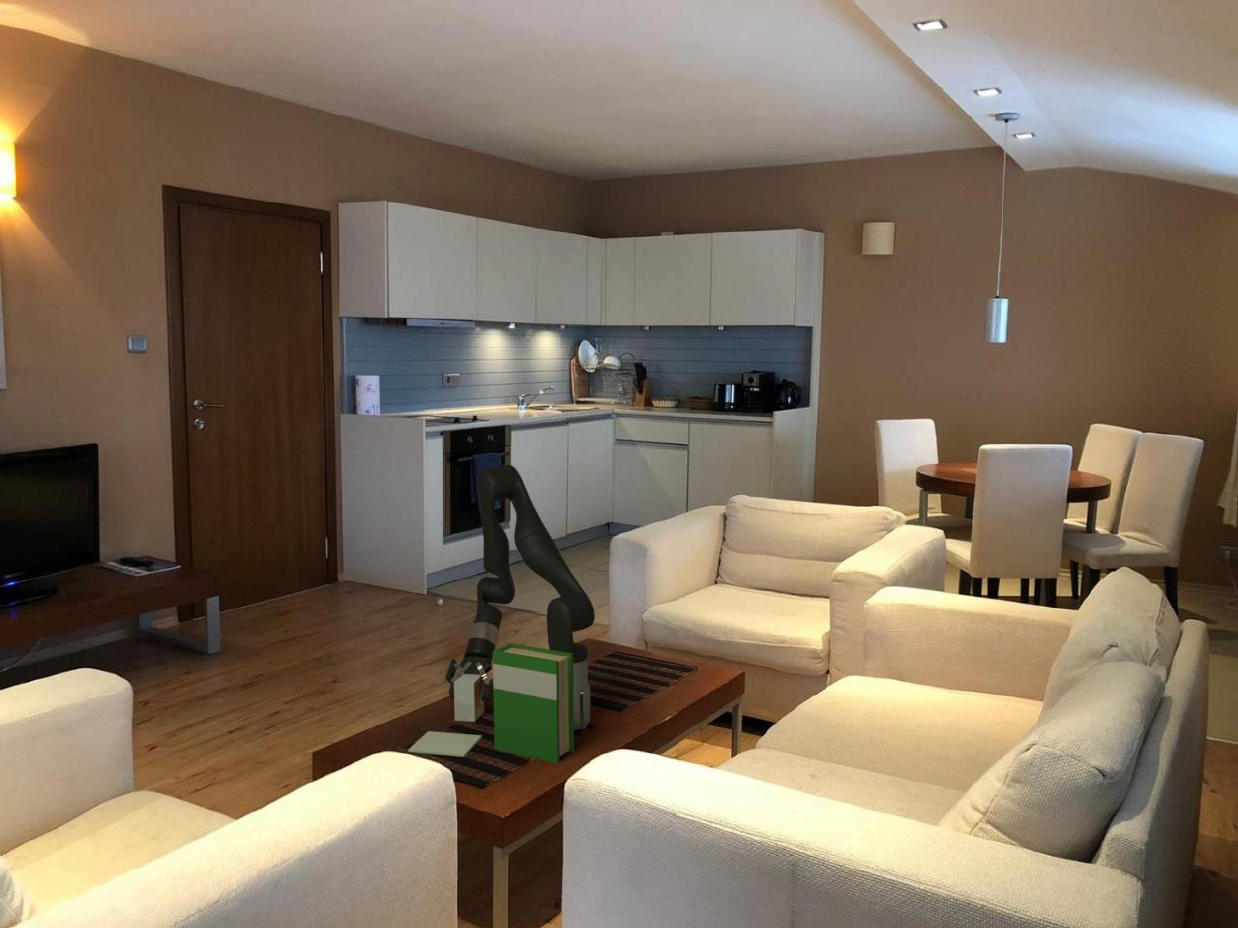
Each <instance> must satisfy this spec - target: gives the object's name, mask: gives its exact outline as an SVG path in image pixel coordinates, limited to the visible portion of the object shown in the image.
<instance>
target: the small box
mask: <svg viewBox="0 0 1238 928" xmlns="http://www.w3.org/2000/svg"><path fill="white" fill-rule="evenodd" d="M484 685H485V681H484V679H483V678H482V676H481V675H472V674H463V675H462V676H461V677H459V678H458V679H457V680H456V681H454V699H453V701H454V702H453V704H454V705H453V706H454V710H453V711H454V721H455V722H467V723H469V722H470V723H475V722H476V721H477V720H478V719H479V718H480V717H481V716H482V715H483V714H484V713H485V701H482V699H481V695H482V691H483V687H484Z"/></svg>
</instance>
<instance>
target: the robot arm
mask: <svg viewBox="0 0 1238 928" xmlns="http://www.w3.org/2000/svg"><path fill="white" fill-rule="evenodd" d="M476 493H477V501H478V508H479V516H480V521H481V522H480V523H481V527H482V536H483V570H484V571H485V572H487V573H489V574H492V575H495V576H496V577H491V576H484V577H482V578H481V579H480V580H479V581H478V582H477V585H476V599H477V600H476V601H477V603H476V604H477V605H476V607H477V608H476V615H475V618H474V621H473V625H472V628H471V630H470V633H469V636H468V641H467V644H466V647H465V651H464V655H463V658H462V661H459V660H458V661H457V660H456V659H455V658H452V659H451V660H450V662H449V666H448V667H447V671H446V674H445V677H444V678H445V680H446V682H447V684H449V690H448V696H449V698H450V699H451V700H454V681H456V680H457V679H458V678H459V677H461V676H462V675H463V674H472V675H481V676H482V678H483V679H484V687H483V691H482V695H481V699H482V701H484V702H486V701H487V700H489V698H490V693H491V689H492V688H494V687H493V679H492V680H490V678H489V677H488V675H487V674H488V673H489V672H491V670H493V651H495V650H496V647H497V644H498V636H499V631H500V627H501V623H502V619H503V613H502V610H501V609H499V608H498V607H496V606H493V605H491V604H498V605H509V604H511V603H512V601H513V600H514V599H515V594H516V589H515V588H516V587H515V584H514V579H513V576H512V573H511V568H510V543H509V538H508V535H507V533H506V531H505V529H503V527H502V524H501V523H500V521H499V520H498V518H497V515H496V502H499V501H504V500H509V501H510V502H511V505H512V506H513V510H514V511H515V514H516V515H515V517H516V518H515V525H514V534H513V536H514V537H513V538H514V539H513V540H514V545H515V547H516V550H517V551H518V553H519V555H520V557H521V559H522V560H523V562H524V564H525V565H526V566H527V567H528V568H529V569H530V570H531V571H532V572H533V573H535V574H536V575H538V576H539V577H540V578H541V579H543V580H545V581H546V582H547V583H548V584H550V585H551V586H552V587H553V588H554V589H555V591H556V592H557V594H558V595H559V596H560V597H556V598H553V599H552V600H551V601H550V602H549V603H548V604H547V605H548V606H547V608H546V625H547V626H546V627H547V629H546V630H547V640H548V641H547V643H548V648H549V650H555V651H561V652H567V653H573V700H574V731H575V730H576V731H577V730H585V729H586V728H587V727H588V725H589V724H590V722H591V685H590V684H589V683H588V682H589V680H588V678H589V673H588V671H589V663H588V662H589V660H588V659H589V657H588V655H589V654H588V652H589V651H588V647H587V646H586V645H584V644H583V643H579V642H575V641H574V633H575V632H579V631H582V630H583V631H584V630H586V629H588V628H590V627H592V625H593V624H594V622H595V617H596V613H595V609H594V606H593V603H592V602H591V599H590V598H589V596H588V594H587V593H586V591H585V590H584V588H583V587H582V586H581V585H580V583H579V582H578V580H577V579H576V578H575V576H574V575H573V574H574V573H572V571H571V570H570V568H569V566H568V565H567V563H566V562H565V560H564V559H563V556H562V554H561V553H560V551H559V549H558V547H557V546H556V544H555V541H554V539H553V538H552V536H551V535H550V532H549V531H548V529H547V528H546V526H545V524H544V522H543V520H542V519H541V516H540V515H539V513H538V512H537V509H536V507H535V505H534V504H533V502H532V499H531V497H530V494H529V491H528V490H527V487H526V485H525V483H524V480H523V478H522V476H521V475H520V472H519V471H518V470H517V468H516V467H515V466H513V464H512V465H511V464H502V465H498V466H497V465H496V466H491V467H486V468H482V469H481V470H479V472H478V474H477V476H476ZM459 668H461V669H459ZM457 670H458V671H457Z"/></svg>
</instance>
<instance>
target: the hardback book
mask: <svg viewBox="0 0 1238 928" xmlns="http://www.w3.org/2000/svg"><path fill="white" fill-rule="evenodd" d="M492 664H493V669H492V675H493V676H492V680H493V687H492V688H493V723H494V724H493V731H494V732H493V733H494V735H493V736H494V738H493V739H494V750H498V751H501V752H506V753H511V754H514V755H519V756H524V757H527V758H533V759H537V760H542V761H546V762H551V763H554V764H555V763H556V764H559V763H560V757H562V756H563V755H564V754H566V753H569V754H573V753H574V752H575V730H574V700H573V653H567V652H561V651H555V650H550V648H549V649H548V648H542V647H535V646H530V645H523V644H517V643H508V644H506V645H505V646H502V647H499V648H497V649H495V651H493V659H492Z"/></svg>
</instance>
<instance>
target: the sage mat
mask: <svg viewBox="0 0 1238 928" xmlns="http://www.w3.org/2000/svg"><path fill="white" fill-rule="evenodd" d="M482 737H483V736H482V735H481V734H480V735H479V734H468V733H467V734H464V733H455V732H445V731H444V732H443V731H433V730H432V731H431V730H430V731H429V730H428V731H427V732H426V733H425V734H424V735H423V736H421V737H420V738H419V739H418V740H417V741H416V742H415V743H414V744H413V745H412V746H411V747H409V748H408V750H407V751H408V753H418V754H426V755H427V754H430V755H441V756H453V757H463V758H464V757H465V756H467V754H468V753H469V752H470V751H471V750H472V749H473V748H474V747H475V746H476V744H477V743H478V742H479V741H480V740H481V739H482Z"/></svg>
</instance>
